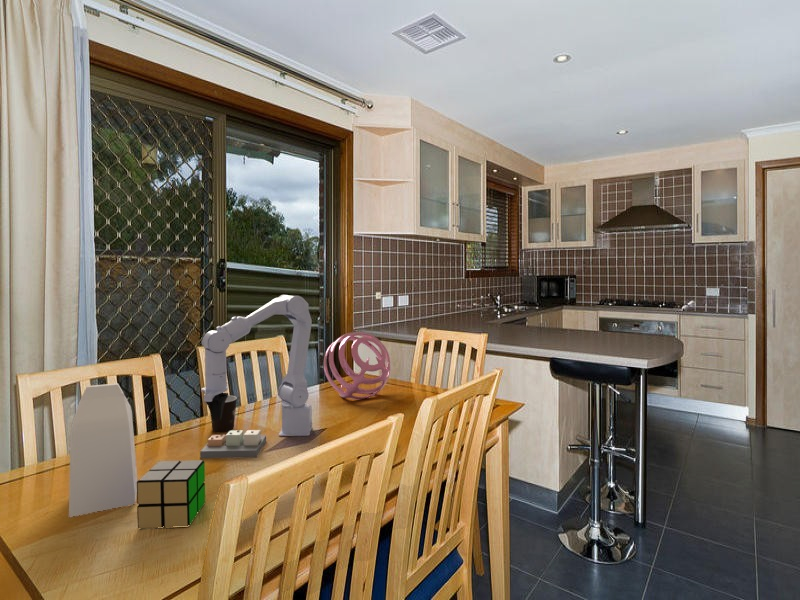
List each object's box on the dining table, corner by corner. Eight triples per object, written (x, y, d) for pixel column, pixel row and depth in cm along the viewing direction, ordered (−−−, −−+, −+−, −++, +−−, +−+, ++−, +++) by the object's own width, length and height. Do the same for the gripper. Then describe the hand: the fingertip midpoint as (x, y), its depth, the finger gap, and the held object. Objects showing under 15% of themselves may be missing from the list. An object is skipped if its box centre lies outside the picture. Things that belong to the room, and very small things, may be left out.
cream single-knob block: (260, 441, 135) (260, 429, 135) (257, 446, 131) (257, 433, 131) (247, 441, 135) (247, 429, 134) (243, 446, 131) (243, 434, 131)
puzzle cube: (159, 504, 101) (158, 460, 101) (205, 503, 102) (205, 459, 101) (136, 530, 91) (135, 481, 91) (189, 528, 92) (188, 479, 91)
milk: (68, 517, 95) (64, 394, 94) (77, 493, 106) (74, 382, 104) (135, 504, 101) (132, 388, 99) (137, 483, 111) (135, 377, 110)
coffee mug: (226, 435, 144) (225, 403, 144) (203, 432, 147) (202, 401, 146) (247, 423, 155) (247, 394, 155) (226, 420, 158) (225, 392, 157)
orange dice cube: (225, 446, 134) (225, 434, 134) (221, 451, 130) (221, 438, 130) (212, 446, 134) (212, 434, 134) (208, 451, 130) (207, 438, 130)
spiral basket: (315, 344, 202) (338, 314, 183) (372, 355, 214) (400, 328, 195) (311, 405, 187) (337, 379, 167) (373, 413, 199) (404, 389, 179)
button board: (266, 441, 139) (266, 435, 139) (256, 457, 127) (256, 450, 127) (214, 442, 138) (214, 435, 138) (200, 458, 126) (200, 451, 126)
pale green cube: (243, 441, 134) (243, 429, 134) (239, 446, 131) (239, 434, 130) (229, 441, 134) (229, 429, 134) (226, 446, 130) (225, 434, 130)
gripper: (210, 367, 138) (211, 412, 139) (191, 378, 123) (192, 428, 124) (234, 367, 138) (234, 411, 139) (218, 378, 124) (219, 427, 125)
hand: (216, 419), depth 132 cm, fingers closed
